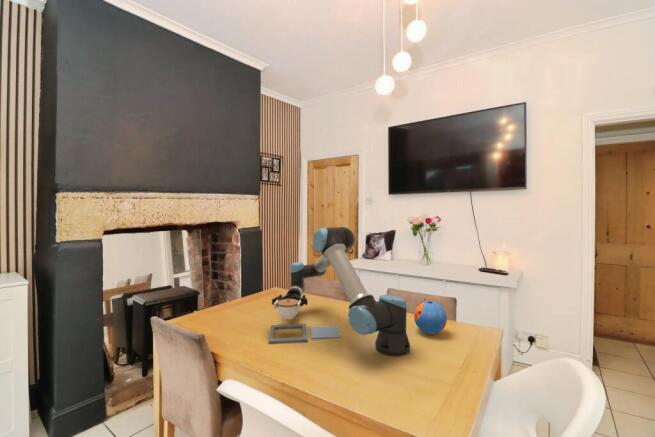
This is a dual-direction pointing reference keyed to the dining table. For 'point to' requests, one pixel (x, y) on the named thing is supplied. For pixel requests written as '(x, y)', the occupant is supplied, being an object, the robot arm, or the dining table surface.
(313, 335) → the pad
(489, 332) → the dining table surface
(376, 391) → the dining table surface
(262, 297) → the dining table surface
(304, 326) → the puzzle board
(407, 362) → the dining table surface
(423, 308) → the treat dispenser ball
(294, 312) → the lidded jar
